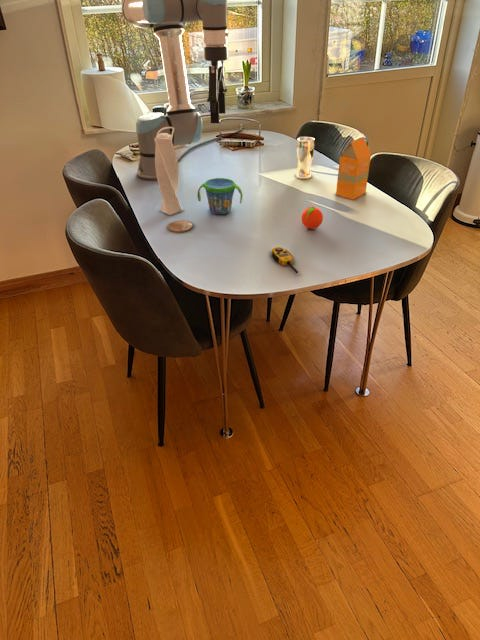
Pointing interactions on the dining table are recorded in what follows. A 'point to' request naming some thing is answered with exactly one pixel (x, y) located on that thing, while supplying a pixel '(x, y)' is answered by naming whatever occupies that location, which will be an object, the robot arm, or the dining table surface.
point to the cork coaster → (180, 226)
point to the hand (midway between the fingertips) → (218, 118)
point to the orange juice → (353, 170)
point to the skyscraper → (167, 172)
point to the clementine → (312, 217)
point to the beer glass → (304, 156)
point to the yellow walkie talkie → (283, 257)
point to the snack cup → (219, 194)
